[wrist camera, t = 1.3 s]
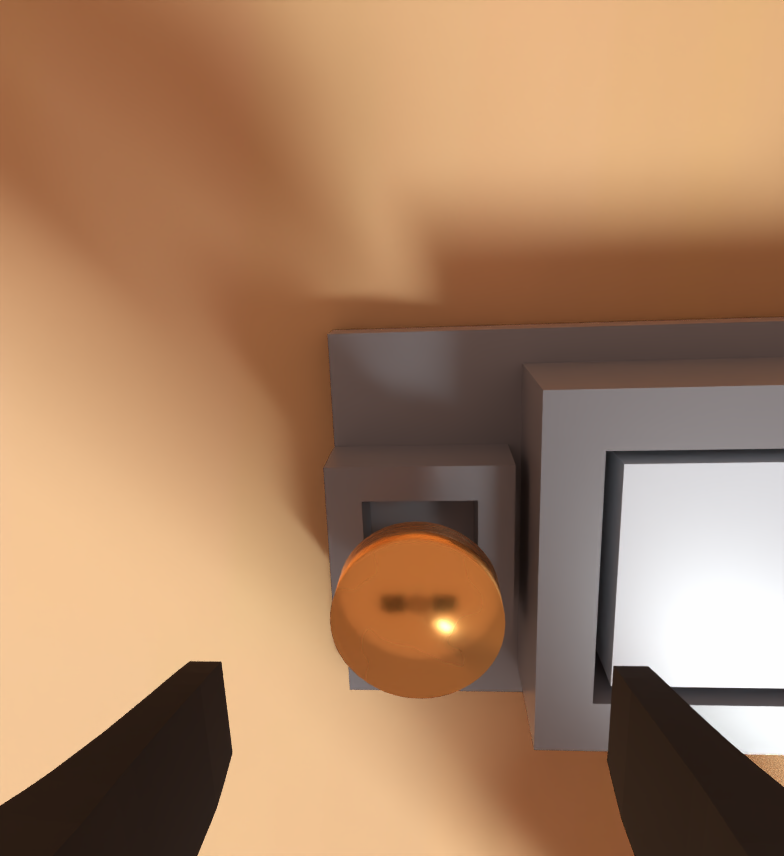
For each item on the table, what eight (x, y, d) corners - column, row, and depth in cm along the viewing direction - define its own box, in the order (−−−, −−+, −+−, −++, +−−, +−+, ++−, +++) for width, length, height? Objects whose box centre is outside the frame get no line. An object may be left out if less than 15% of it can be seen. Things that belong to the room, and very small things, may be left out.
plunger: (493, 623, 18) (504, 699, 15) (352, 623, 18) (335, 697, 15) (493, 490, 17) (506, 543, 14) (344, 492, 17) (324, 544, 14)
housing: (1059, 679, 21) (1230, 796, 16) (353, 671, 23) (332, 775, 18) (1161, 305, 18) (1408, 324, 13) (333, 330, 20) (301, 353, 15)
